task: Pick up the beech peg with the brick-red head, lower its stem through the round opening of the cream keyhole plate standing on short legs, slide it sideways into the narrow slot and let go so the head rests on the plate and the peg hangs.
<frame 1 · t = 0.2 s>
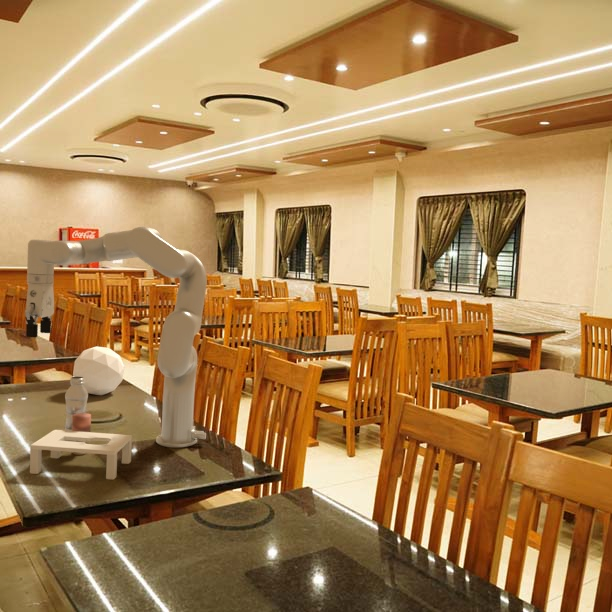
hand: (38, 334, 189), 31 cm above the table, tool pointing down, fingers open, 9 cm apart
ball: (98, 394, 244), on the table
peg: (80, 452, 175), on the table
plastic bottle: (74, 443, 183), on the table
keyhole plate: (82, 467, 164), on the table
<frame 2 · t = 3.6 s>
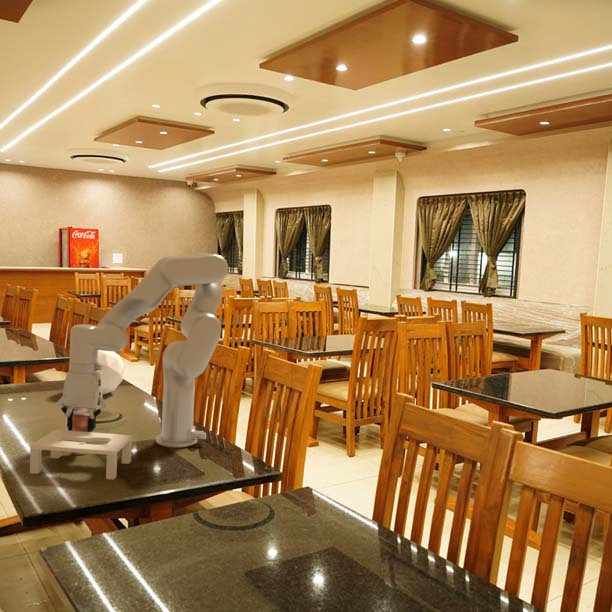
hand: (81, 429, 175), 7 cm above the table, tool pointing down, fingers closed on peg, 5 cm apart
peg: (80, 452, 175), on the table, touching gripper
everything else where it was.
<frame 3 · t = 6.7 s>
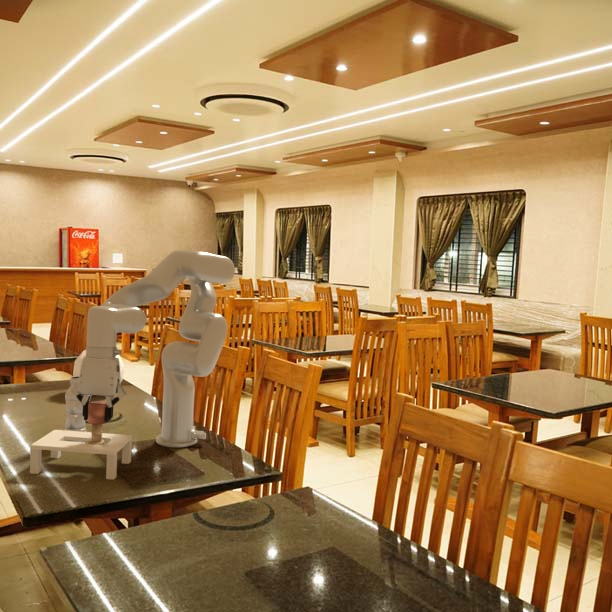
hand: (97, 419, 162), 14 cm above the table, tool pointing down, fingers closed on peg, 5 cm apart
peg: (96, 443, 163), point 7 cm above the table, touching gripper
everything else where it was.
when the fingers open (9 cm above the table, at t = 10.3 s): peg stays where it is, resting on keyhole plate.
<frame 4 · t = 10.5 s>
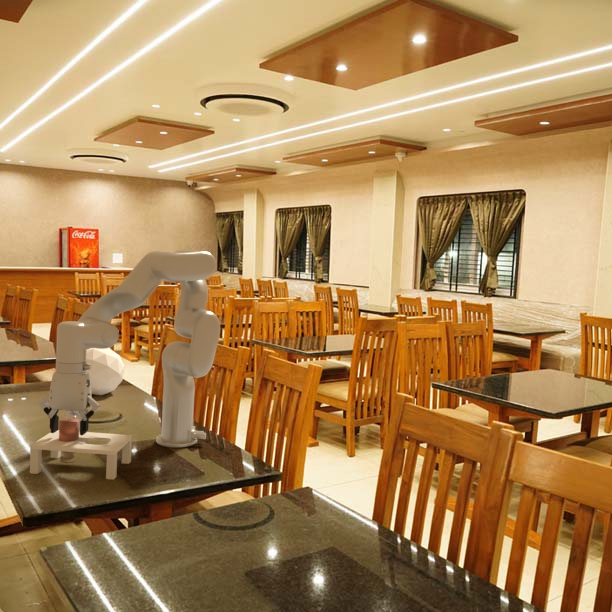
hand: (68, 432, 163), 9 cm above the table, tool pointing down, fingers open, 7 cm apart
peg: (68, 460, 164), point 1 cm above the table, touching keyhole plate
everything else where it was.
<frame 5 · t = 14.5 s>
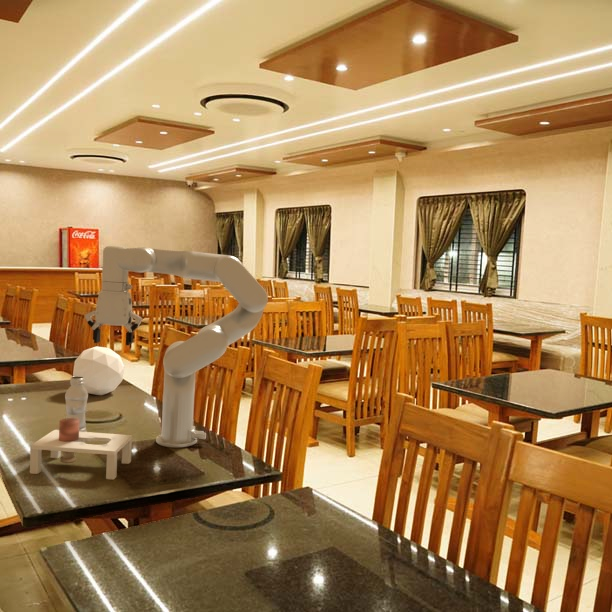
hand: (112, 343, 184), 30 cm above the table, tool pointing down, fingers open, 9 cm apart
nothing on the table moved.
at the end: peg 0.9 cm from the target spot on the keyhole plate, point 1.5 cm above the keyhole plate's base; peg tilted 0°; the gripper is holding nothing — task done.
